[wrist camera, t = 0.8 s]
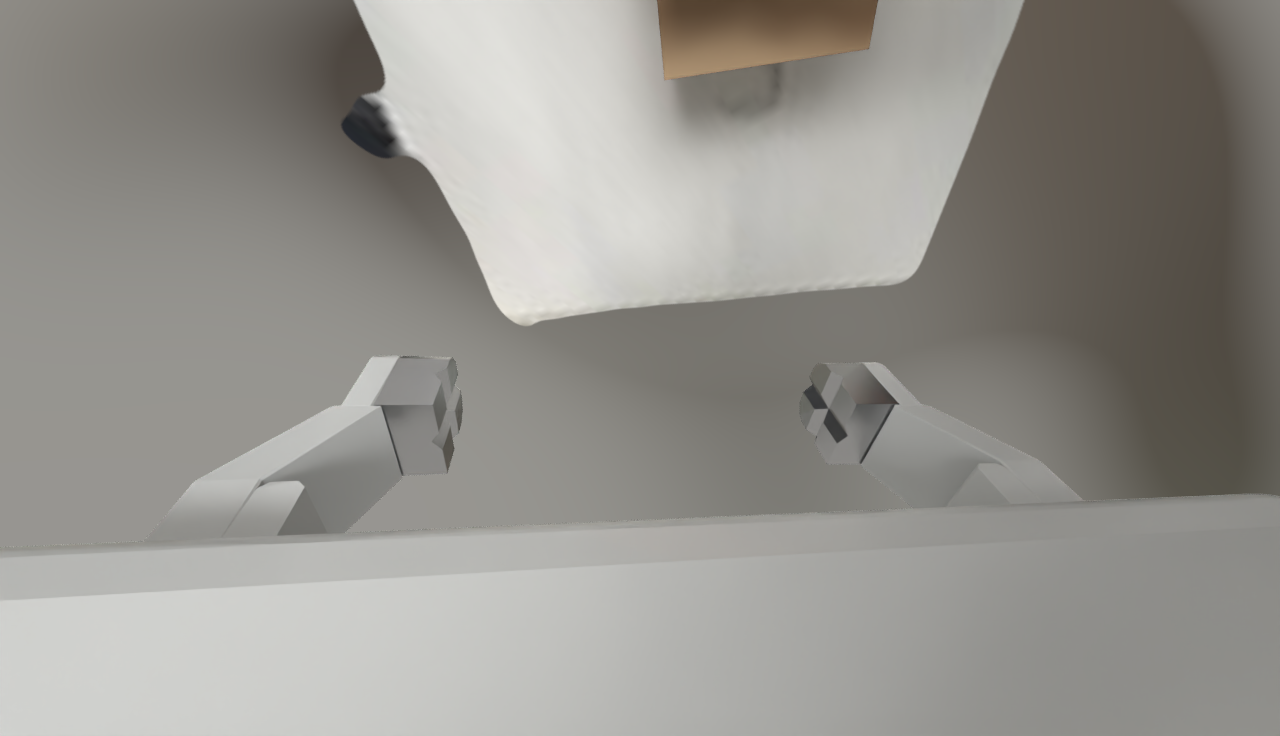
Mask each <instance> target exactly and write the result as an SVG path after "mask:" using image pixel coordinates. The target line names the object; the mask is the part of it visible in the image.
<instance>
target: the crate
mask: <svg viewBox="0 0 1280 736" xmlns="http://www.w3.org/2000/svg"><path fill="white" fill-rule="evenodd" d="M877 2H878V0H657V3H658V14H659V25H660V36H661V47H662V57H663V68H664V79H665V80H669V79H675V78H682V77H688V76H695V75H702V74H708V73H715V72H721V71H728V70H734V69H741V68H747V67H754V66H760V65H767V64H774V63H780V62H787V61H793V60H800V59H806V58H813V57H819V56H826V55H833V54H839V53H846V52H852V51H859V50H865V49H869V45H870V40H871V35H872V29H873V24H874V19H875V13H876V8H877Z"/></svg>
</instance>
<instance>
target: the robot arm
mask: <svg viewBox="0 0 1280 736" xmlns="http://www.w3.org/2000/svg"><path fill="white" fill-rule="evenodd" d="M457 376H458V371H457V366H456V361H455V360H454V359H453V357H424V356H391V355H390V356H388V355H385V356H384V355H376V356H374V357H372V358H371V359H370V360H369V362H368V363H367V365H366V366H365V368H364V370H363V371H362V373H361V374H360V376H359V378H358V379H357V381H356V382H355V384H354V386H353V387H352V389H351V390H350V392H349V393H348V395H347V397H346V398H345V400H344V402H343V403H342V405H341V406H331V407H330V408H328V409H326V410H324V411H322V412H320V413H319V414H317V415H315V416H313V417H311V418H309V419H308V420H306V421H304V422H302V423H300V424H298V425H297V426H295V427H293V428H291V429H289V430H287V431H286V432H284V433H282V434H280V435H279V436H277V437H275V438H273V439H271V440H269V441H267V442H266V443H264V444H262V445H260V446H258V447H256V448H254V449H253V450H251V451H249V452H247V453H245V454H244V455H242V456H240V457H238V458H237V459H234V460H233V461H231V462H229V463H227V464H225V465H224V466H222V467H220V468H218V469H216V470H214V471H212V472H211V473H209V474H207V475H205V476H203V477H202V478H200V479H198V480H196V481H194V482H193V484H192V485H191V486H190V487H189V488H188V490H187V491H186V492H185V493H184V494H183V496H182V497H181V498H180V499H179V500H178V501H177V503H176V504H175V505H174V506H173V507H172V508H171V510H170V511H169V512H168V513H167V514H166V516H165V517H164V518H163V519H162V520H161V521H160V523H159V524H158V525H157V526H156V527H155V528H154V530H153V531H152V532H151V533H150V534H149V536H148V537H147V538H146V539H145V540H144V541H140V542H119V543H118V542H116V543H93V544H69V545H47V546H46V545H45V546H23V547H0V736H1280V497H1279V496H1274V495H1268V494H1234V495H1214V496H1193V497H1168V498H1145V499H1121V500H1098V501H1083V500H1082V499H1081V498H1080V497H1079V496H1078V495H1077V494H1076V493H1075V492H1074V491H1072V490H1071V489H1070V488H1069V487H1068V486H1067V485H1066V484H1065V483H1064V482H1063V481H1062V480H1060V479H1059V478H1058V477H1057V476H1056V475H1055V474H1053V472H1052V471H1051V470H1049V469H1048V468H1047V467H1046V466H1045V465H1044V464H1043V463H1042V462H1040V461H1039V460H1037V459H1035V458H1033V457H1031V456H1029V455H1027V454H1025V453H1023V452H1021V451H1019V450H1017V449H1015V448H1013V447H1011V446H1009V445H1007V444H1005V443H1003V442H1001V441H999V440H997V439H995V438H993V437H991V436H989V435H987V434H985V433H983V432H981V431H979V430H977V429H975V428H973V427H971V426H969V425H967V424H965V423H963V422H961V421H959V420H957V419H955V418H953V417H951V416H949V415H947V414H945V413H943V412H941V411H939V410H937V409H935V408H933V407H931V406H929V405H921V404H920V402H919V401H918V400H917V399H916V398H915V397H914V396H913V395H912V394H911V393H910V392H909V391H908V390H907V389H906V388H905V387H904V386H903V385H902V384H901V383H900V382H899V381H898V380H897V379H896V377H895V376H894V375H893V374H892V373H891V372H890V371H889V370H888V369H887V368H886V367H885V366H884V365H882V364H880V363H877V362H875V363H874V362H870V363H818V364H817V365H816V366H815V367H814V368H813V370H812V372H811V375H810V380H811V382H812V385H811V386H810V387H809V388H808V389H806V390H805V391H804V392H803V395H802V397H801V400H800V418H801V421H802V423H803V425H804V427H805V429H806V430H807V431H809V432H811V433H812V434H814V435H815V436H816V439H815V442H814V444H815V445H816V447H817V449H818V450H819V452H820V454H821V455H822V457H823V458H824V460H825V462H826V464H861V467H862V468H864V469H865V470H866V471H867V472H869V473H870V474H871V475H872V476H874V477H875V478H876V479H877V480H879V481H880V482H881V483H882V484H884V485H885V486H886V487H887V488H889V489H890V490H891V491H892V492H894V493H895V494H896V495H897V496H898V497H900V498H901V499H902V500H904V501H905V502H906V503H907V504H908V505H910V506H911V507H912V508H913V509H892V510H870V511H869V510H868V511H845V512H844V511H843V512H818V513H794V514H769V515H749V516H748V515H746V516H726V517H725V516H723V517H702V518H701V517H700V518H680V519H679V518H677V519H657V520H656V519H655V520H631V521H609V522H586V523H563V524H539V525H517V526H516V525H515V526H492V527H468V528H447V529H446V528H445V529H422V530H398V531H375V532H353V533H345V532H346V531H347V530H348V529H349V528H350V527H351V526H352V525H353V524H354V523H356V522H357V521H358V519H360V518H361V517H362V516H363V515H364V514H365V513H366V512H367V511H368V510H369V509H370V508H371V507H372V506H373V505H374V504H375V503H377V502H378V501H379V500H380V499H381V498H382V497H383V496H384V495H385V494H386V493H387V492H388V491H389V490H390V489H391V488H392V487H394V486H395V485H396V483H398V482H399V481H400V480H401V479H402V476H406V475H425V474H426V475H427V474H447V473H448V470H449V466H450V463H451V459H452V456H453V452H454V444H453V438H454V437H455V436H456V435H458V434H459V430H460V427H461V423H462V412H463V407H462V395H461V390H459V389H458V388H457V387H456V386H455V382H456V379H457Z"/></svg>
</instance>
